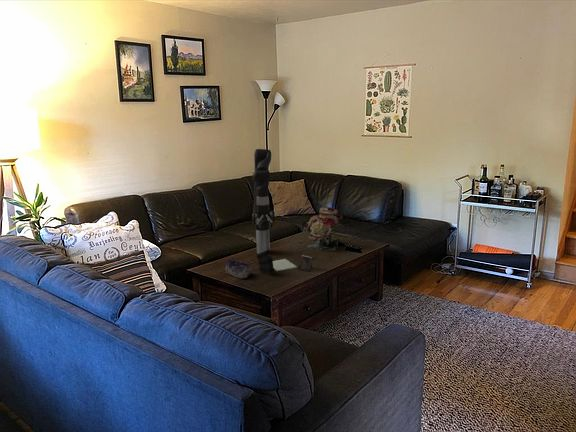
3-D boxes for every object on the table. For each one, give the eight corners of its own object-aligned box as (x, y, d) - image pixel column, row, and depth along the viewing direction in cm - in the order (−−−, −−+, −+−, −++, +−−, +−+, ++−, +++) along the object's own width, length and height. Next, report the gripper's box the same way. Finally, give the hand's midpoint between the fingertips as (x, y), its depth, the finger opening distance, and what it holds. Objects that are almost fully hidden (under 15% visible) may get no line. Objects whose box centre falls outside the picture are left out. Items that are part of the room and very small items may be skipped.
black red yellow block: (273, 274, 282) (265, 250, 284) (261, 278, 292) (254, 255, 294) (277, 272, 285) (270, 249, 286) (266, 276, 295) (258, 254, 296)
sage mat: (266, 263, 308) (266, 262, 308) (285, 259, 314) (285, 258, 314) (277, 271, 292) (277, 270, 292) (297, 267, 298) (297, 266, 298)
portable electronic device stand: (296, 269, 295) (296, 256, 293) (304, 265, 301) (304, 253, 299) (307, 272, 289) (307, 259, 287) (315, 268, 295) (315, 256, 293)
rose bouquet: (311, 240, 358) (311, 202, 351) (348, 243, 346) (348, 204, 339) (298, 249, 335) (297, 209, 328) (337, 253, 323) (336, 211, 316)
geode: (218, 274, 290) (219, 258, 289) (232, 271, 299) (232, 256, 298) (242, 280, 278) (242, 263, 277) (255, 276, 287) (255, 260, 286)
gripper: (271, 201, 287) (272, 226, 291) (249, 203, 281) (250, 229, 285) (276, 203, 281) (277, 229, 284) (254, 205, 275) (255, 232, 278)
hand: (263, 229), depth 285 cm, fingers open, 8 cm apart
